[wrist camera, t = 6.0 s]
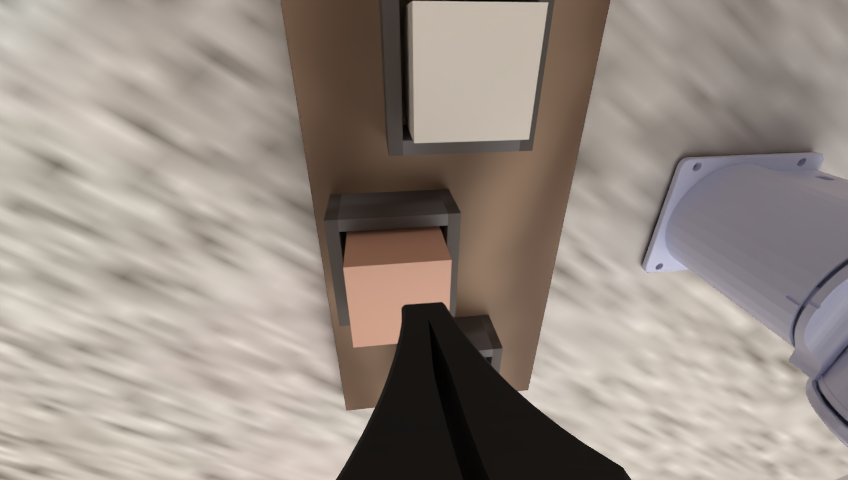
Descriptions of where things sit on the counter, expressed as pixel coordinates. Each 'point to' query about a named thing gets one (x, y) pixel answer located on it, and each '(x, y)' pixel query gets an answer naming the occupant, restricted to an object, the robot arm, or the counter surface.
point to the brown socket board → (438, 174)
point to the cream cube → (471, 69)
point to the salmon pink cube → (392, 278)
